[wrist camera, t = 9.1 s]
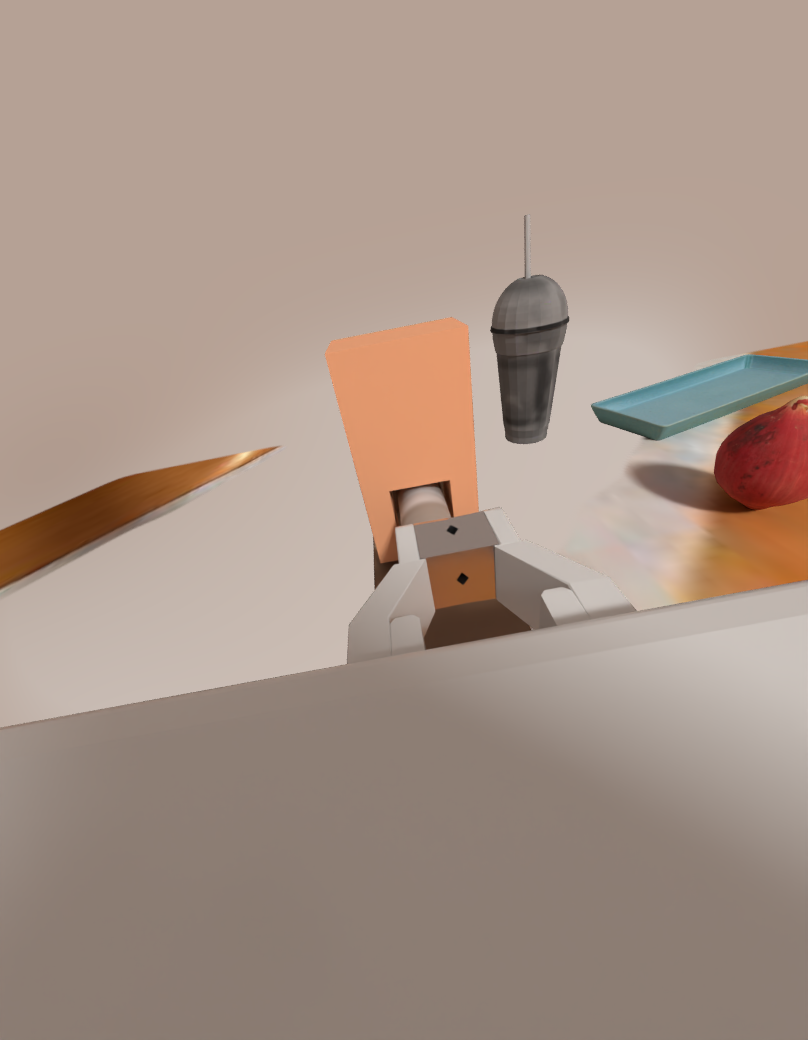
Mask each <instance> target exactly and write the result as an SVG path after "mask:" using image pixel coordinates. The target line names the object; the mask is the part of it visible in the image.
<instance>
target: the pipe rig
mask: <svg viewBox="0 0 808 1040" xmlns="http://www.w3.org/2000/svg"><path fill="white" fill-rule="evenodd" d="M392 493H393V498H394V502H395V507H396V512H397V517H398V521H399V526H404V525H409V524H415V523H421V522H426V521H432V520H438V519H444V518H451V516H450V513H449V510H448V507H447V504H446V501H445V498H444V490H443V481H442V482H437V483H431V484H426V485H420V486H415V487H410V488H404V489H399V490H394V491H392ZM413 527H414V525H413ZM414 532H415V531H414ZM415 537H416V536H415ZM373 540H374V537H373ZM373 542H374V577H375V578H374V580H375V589H376V588H377V587H378V585H379V584H380V583H381V581H382V580H383V579H384V577H385V576H386V575H387V573H388V572H389V570H390V569H391V568H392V566H393V565H395V564H399V561H398V560H396V561H391V562H385V563H380V559H379V555H378V552H377V548H376V544H375V540H374V541H373ZM416 542H417V541H416ZM417 547H418V546H417ZM525 631H531V628H530V626H529V625H528V624H527V623H525V622H524V621H523V620H522V619H520V618H519V617H518V616H517V615H515V614H514V613H513V612H512V611H510V610H509V609H508V608H506V607H505V606H504V605H503V604H501V603H500V602H499V601H498V600H497V598H495V599H489V600H482V601H476V602H470V603H464V604H459V605H454V606H450V607H445V608H440V609H436V610H435V613H434V616H433V618H432V620H431V622H430V625H429V627H428V629H427V632H426V634H425V636H424V641H425V646H426V650H428V649H433V648H439V647H444V646H449V645H455V644H460V643H466V642H471V641H477V640H482V639H487V638H493V637H498V636H504V635H509V634H515V633H520V632H525Z"/></svg>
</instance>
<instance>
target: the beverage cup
mask: <svg viewBox="0 0 808 1040" xmlns="http://www.w3.org/2000/svg"><path fill="white" fill-rule="evenodd" d="M524 235H525V236H524V238H525V277H523V278H519V279H517V280H516V281H514V282H513V283H511V284H510V285H509V286H508V287H507V288H506V289H505V290H504V292H503V293H502V295H501V296H500V298H499V299H498V301H497V304H496V306H495V309H494V312H493V318H492V326H491V330H490V331H491V333H493V342H494V347H495V351H496V353H497V362H498V372H499V382H500V393H501V402H502V411H503V422H504V427H505V437H506V439H507V440H508V441H510V442H512V443H517V444H529V443H536V442H539V441H541V440H543V439H544V438H546V435H547V429H548V424H549V421H550V414H551V408H552V402H553V395H554V389H555V382H556V376H557V369H558V363H559V357H560V350H561V345H562V344H563V341H564V337H565V333H566V328H567V323H568V322H569V316H568V306H567V300H566V297H565V295H564V292H563V290H562V289H561V287H560V286H559V285H558V284H557V283H556V282H555V281H554V280H553V279H551V278H549V277H547V276H544V275H535V276H530V214H529V215H525V216H524Z"/></svg>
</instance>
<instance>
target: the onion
mask: <svg viewBox="0 0 808 1040" xmlns="http://www.w3.org/2000/svg"><path fill="white" fill-rule="evenodd" d="M714 475H715V478H716V481H717V483H718V484H719V485H720V486H721V487H722V488H723V489H724V491H725V492H726V493H727V494H728V495H729V496H730V497H732V498H733V499H735V500H737V501H738V502H740V503H742V504H743V505H745V506H746V507H748V508H750V509H754V510H761V509H766V508H769V507H774V506H781V505H786V504H790V503H794V502H797V501H800V500H803V499H806V498H808V396H800V397H797V398H796V399H793V400H791V401H790V402H788V403H787V404H785V405H784V406H782V407H780V408H778V409H776V410H774V411H770V412H767V413H764V414H762V415H759V416H757V417H756V418H754V419H752V420H750V421H748V422H747V423H745V424H743V425H742V426H740V427H738V428H737V429H736V430H734V431H733V432H732V433H731V434H730V435H728V437H727V438H726V439H725V440H724V441H723V442H722V444H721V446H720V448H719V450H718V452H717V454H716V460H715V467H714Z"/></svg>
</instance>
